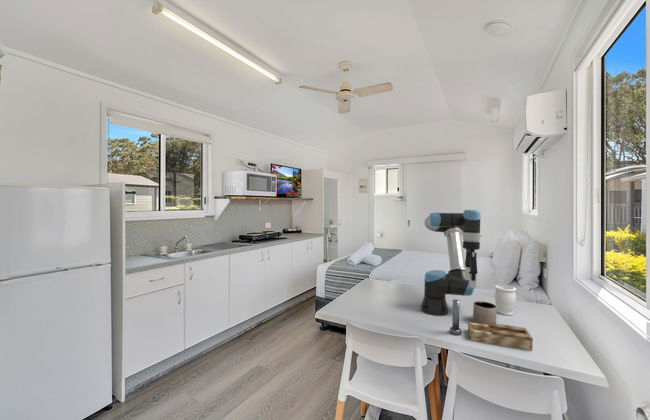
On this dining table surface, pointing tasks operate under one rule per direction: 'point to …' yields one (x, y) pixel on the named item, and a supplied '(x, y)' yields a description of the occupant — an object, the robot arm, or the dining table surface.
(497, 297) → the jar
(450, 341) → the dining table surface
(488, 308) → the planter
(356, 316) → the dining table surface
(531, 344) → the rail
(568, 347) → the dining table surface
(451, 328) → the metal hex bolt
